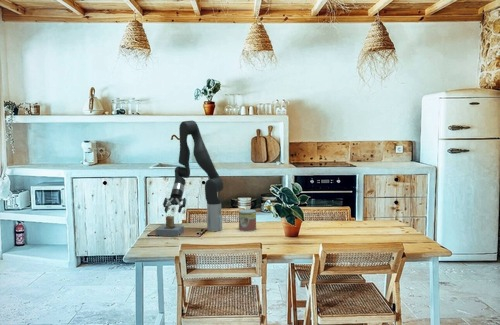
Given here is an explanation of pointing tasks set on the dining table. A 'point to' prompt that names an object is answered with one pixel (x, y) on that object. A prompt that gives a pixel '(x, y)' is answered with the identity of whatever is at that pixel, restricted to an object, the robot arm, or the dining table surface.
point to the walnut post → (170, 222)
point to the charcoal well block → (169, 231)
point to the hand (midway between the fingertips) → (172, 212)
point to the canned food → (247, 220)
